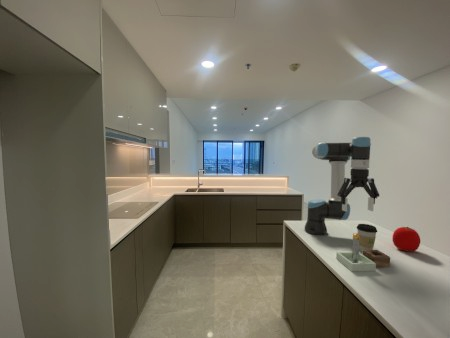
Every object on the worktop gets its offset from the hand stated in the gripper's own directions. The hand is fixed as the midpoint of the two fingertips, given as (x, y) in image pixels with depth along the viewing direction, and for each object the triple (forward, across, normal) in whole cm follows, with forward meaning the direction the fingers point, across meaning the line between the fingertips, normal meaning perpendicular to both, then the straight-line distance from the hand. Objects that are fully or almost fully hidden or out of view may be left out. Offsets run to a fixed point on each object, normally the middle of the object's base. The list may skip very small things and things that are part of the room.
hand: (357, 210), depth 100 cm
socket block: (+28, +12, +1) cm, 30 cm away
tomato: (+28, +42, +14) cm, 53 cm away
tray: (+28, 0, 0) cm, 28 cm away
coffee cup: (+28, +16, +13) cm, 35 cm away
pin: (+27, 0, 0) cm, 27 cm away
